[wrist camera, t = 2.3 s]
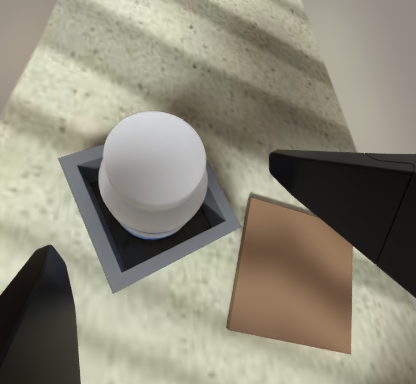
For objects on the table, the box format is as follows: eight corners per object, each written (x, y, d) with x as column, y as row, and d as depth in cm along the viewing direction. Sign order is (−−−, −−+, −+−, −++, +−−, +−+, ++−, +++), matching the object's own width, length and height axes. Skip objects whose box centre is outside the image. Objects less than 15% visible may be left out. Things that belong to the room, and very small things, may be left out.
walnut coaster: (344, 351, 19) (351, 354, 18) (226, 328, 17) (229, 330, 17) (347, 228, 22) (352, 227, 21) (248, 199, 20) (251, 197, 20)
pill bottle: (132, 163, 19) (118, 72, 10) (196, 186, 20) (238, 120, 11) (103, 229, 17) (54, 192, 8) (175, 251, 18) (204, 240, 9)
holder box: (225, 232, 19) (241, 226, 16) (119, 287, 16) (113, 293, 13) (179, 141, 20) (185, 118, 17) (74, 177, 18) (57, 158, 14)
